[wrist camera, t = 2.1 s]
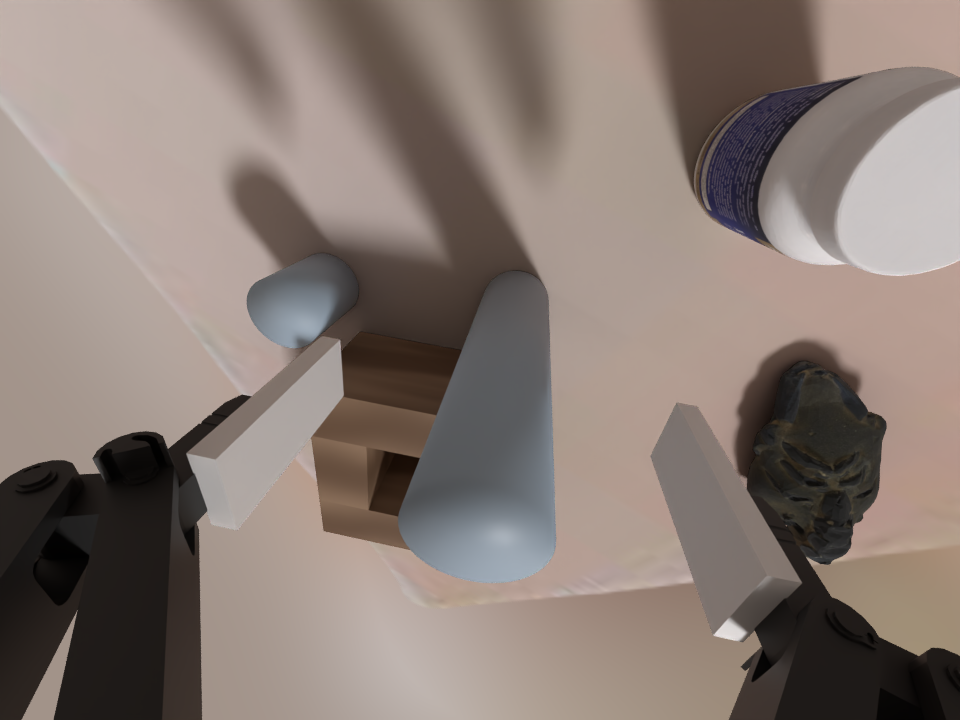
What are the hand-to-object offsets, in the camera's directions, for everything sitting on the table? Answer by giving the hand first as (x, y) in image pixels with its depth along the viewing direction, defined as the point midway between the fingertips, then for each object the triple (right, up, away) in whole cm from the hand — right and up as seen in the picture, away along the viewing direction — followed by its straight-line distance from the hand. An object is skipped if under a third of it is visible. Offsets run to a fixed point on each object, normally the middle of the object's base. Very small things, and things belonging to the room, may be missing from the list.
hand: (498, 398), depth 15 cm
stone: (+20, -4, +11) cm, 23 cm away
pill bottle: (+12, +11, +3) cm, 17 cm away
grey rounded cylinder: (-10, +6, +9) cm, 16 cm away
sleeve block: (-4, -3, +14) cm, 14 cm away
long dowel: (+1, +5, +8) cm, 10 cm away
